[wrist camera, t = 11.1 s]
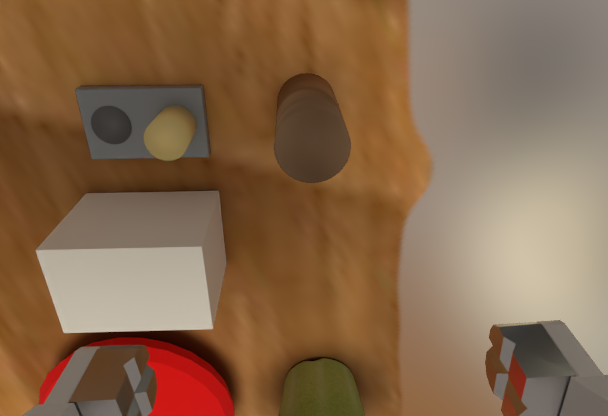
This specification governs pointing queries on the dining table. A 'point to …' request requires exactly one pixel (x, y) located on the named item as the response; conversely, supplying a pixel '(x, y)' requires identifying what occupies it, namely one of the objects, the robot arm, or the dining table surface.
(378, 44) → the dining table surface
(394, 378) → the dining table surface
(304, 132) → the peg
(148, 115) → the plate
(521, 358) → the robot arm
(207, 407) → the red domed lid
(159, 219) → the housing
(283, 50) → the dining table surface
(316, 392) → the plant pot
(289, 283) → the dining table surface
